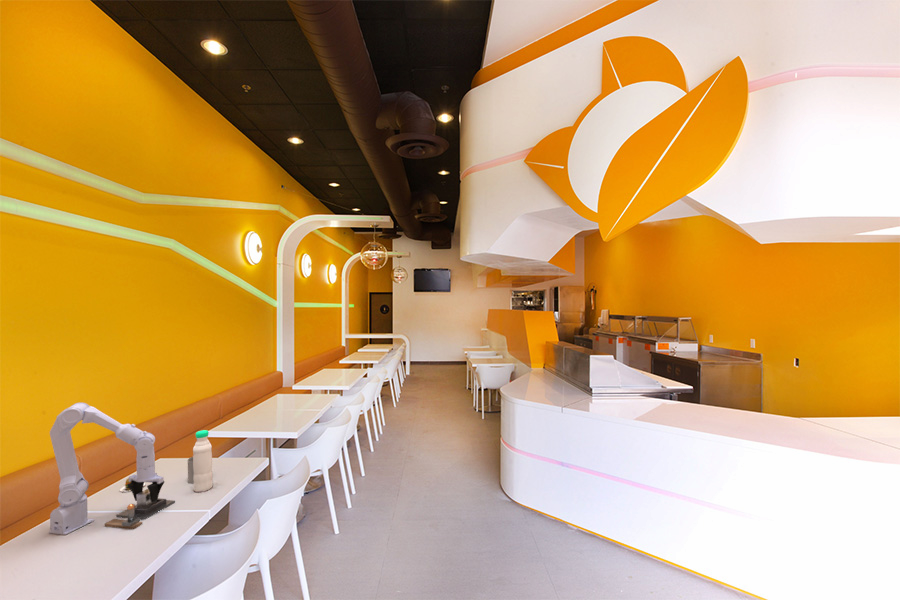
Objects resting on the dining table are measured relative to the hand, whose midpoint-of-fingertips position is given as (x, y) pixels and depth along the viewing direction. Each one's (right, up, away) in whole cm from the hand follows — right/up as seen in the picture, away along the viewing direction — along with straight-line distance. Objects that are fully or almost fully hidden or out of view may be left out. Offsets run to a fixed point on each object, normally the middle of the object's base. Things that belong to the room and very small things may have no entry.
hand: (146, 500), depth 155 cm
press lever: (+4, -2, -12) cm, 13 cm away
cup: (+4, -4, +27) cm, 27 cm away
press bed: (0, -4, 0) cm, 4 cm away
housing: (0, -3, 0) cm, 3 cm away
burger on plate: (-22, -6, +20) cm, 30 cm away
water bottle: (+12, -4, +17) cm, 21 cm away
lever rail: (0, -3, -11) cm, 12 cm away
